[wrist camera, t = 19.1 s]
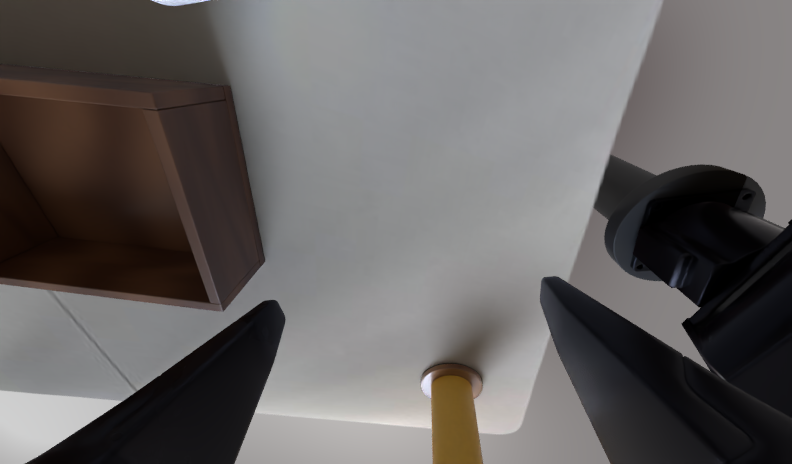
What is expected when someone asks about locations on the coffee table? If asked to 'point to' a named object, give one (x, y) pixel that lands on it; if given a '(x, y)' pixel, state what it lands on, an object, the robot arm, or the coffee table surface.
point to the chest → (124, 188)
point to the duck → (454, 422)
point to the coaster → (454, 371)
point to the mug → (178, 2)
